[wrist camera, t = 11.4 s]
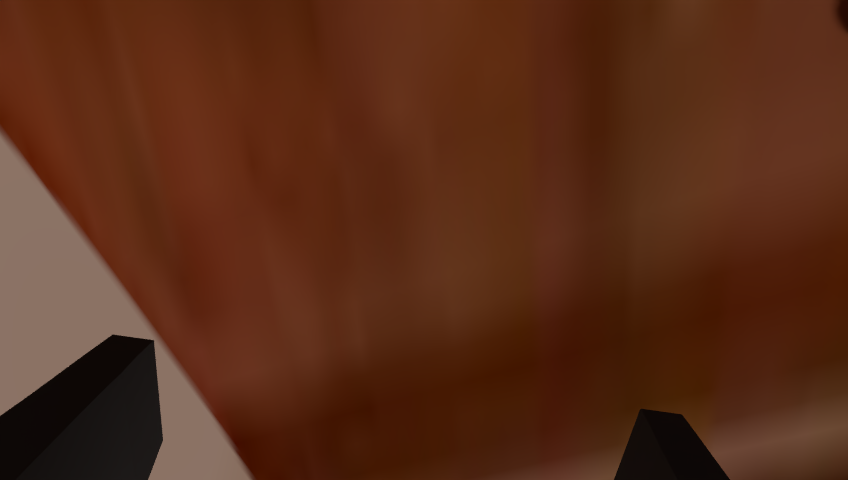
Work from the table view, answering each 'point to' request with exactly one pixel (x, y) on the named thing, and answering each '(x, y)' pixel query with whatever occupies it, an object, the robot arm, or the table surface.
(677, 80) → the table surface
